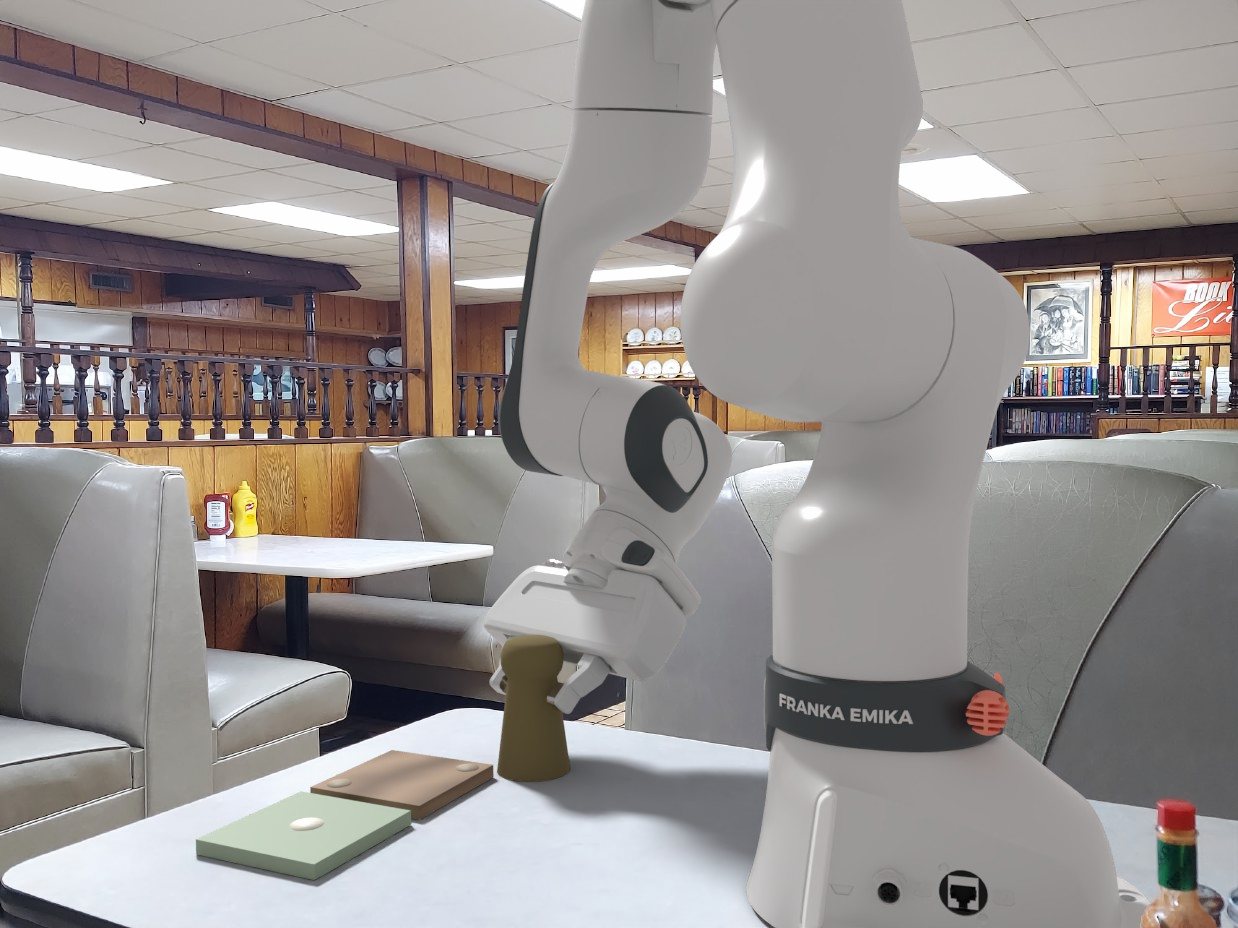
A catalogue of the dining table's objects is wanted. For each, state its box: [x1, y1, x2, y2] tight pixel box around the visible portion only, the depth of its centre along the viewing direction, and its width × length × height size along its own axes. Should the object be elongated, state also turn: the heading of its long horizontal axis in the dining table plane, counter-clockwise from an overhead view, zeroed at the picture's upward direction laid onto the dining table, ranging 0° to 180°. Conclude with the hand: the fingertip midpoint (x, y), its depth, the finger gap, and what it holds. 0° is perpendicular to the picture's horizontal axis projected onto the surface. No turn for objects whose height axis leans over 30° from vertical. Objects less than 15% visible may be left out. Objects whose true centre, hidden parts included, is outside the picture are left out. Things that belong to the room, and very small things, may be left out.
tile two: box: [309, 749, 495, 821], centre depth 82 cm, size 10×10×1 cm
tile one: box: [195, 790, 412, 881], centre depth 72 cm, size 10×10×1 cm
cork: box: [496, 634, 571, 783], centre depth 86 cm, size 6×6×11 cm
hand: (526, 698), depth 85 cm, fingers open, 6 cm apart
